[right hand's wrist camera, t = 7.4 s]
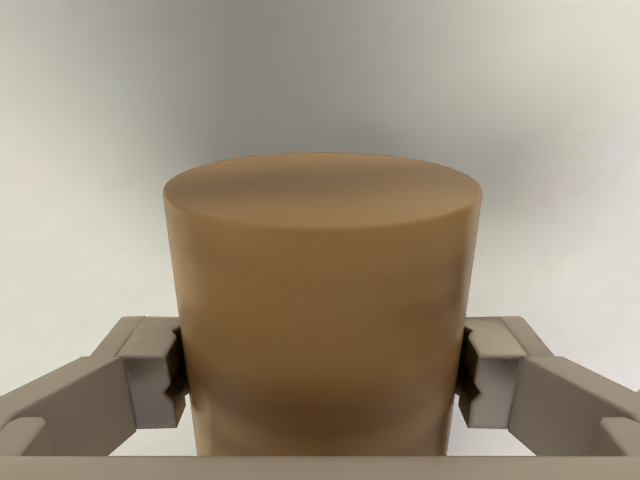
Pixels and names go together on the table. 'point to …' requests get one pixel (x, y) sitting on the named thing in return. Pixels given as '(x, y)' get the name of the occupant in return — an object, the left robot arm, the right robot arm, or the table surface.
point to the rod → (322, 301)
